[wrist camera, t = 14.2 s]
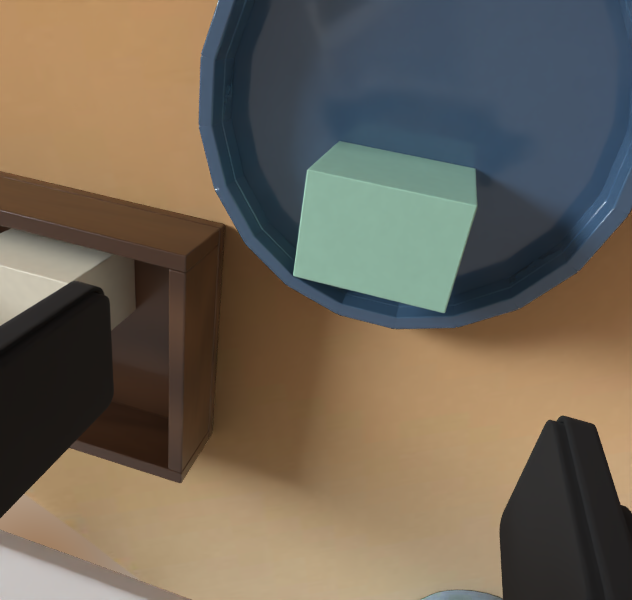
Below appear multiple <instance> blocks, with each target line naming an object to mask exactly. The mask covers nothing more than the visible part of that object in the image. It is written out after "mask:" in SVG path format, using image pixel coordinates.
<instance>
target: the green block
mask: <svg viewBox="0 0 632 600" xmlns="http://www.w3.org/2000/svg"><path fill="white" fill-rule="evenodd" d="M476 210H477V186H476V169H475V168H470V167H465V166H460V165H455V164H450V163H446V162H441V161H436V160H431V159H426V158H421V157H416V156H411V155H406V154H401V153H396V152H391V151H387V150H382V149H377V148H372V147H367V146H362V145H357V144H352V143H347V142H342V141H339V142H338V143H337V144H335V145H334V146H333V147H332V148H331V149H330V150H329V151H328V152H327V153H325V154H324V155H323V156H322V157H321V158H320V159H319V160H318V161H316V162H315V163H314V164H313V165H312V166H311V167H310V168H309V169H308V170H307V175H306V182H305V190H304V197H303V205H302V212H301V220H300V227H299V234H298V242H297V249H296V257H295V264H294V272H293V276H295V277H299V278H303V279H307V280H311V281H315V282H319V283H323V284H327V285H331V286H335V287H339V288H343V289H348V290H352V291H356V292H360V293H364V294H368V295H372V296H376V297H380V298H384V299H388V300H392V301H396V302H400V303H404V304H408V305H412V306H416V307H420V308H424V309H429V310H433V311H437V312H441V313H445V312H446V308H447V305H448V302H449V299H450V295H451V292H452V289H453V286H454V282H455V279H456V276H457V272H458V269H459V266H460V263H461V259H462V256H463V253H464V250H465V246H466V243H467V240H468V236H469V233H470V230H471V227H472V223H473V220H474V217H475V214H476Z"/></svg>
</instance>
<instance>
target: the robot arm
mask: <svg viewBox="0 0 632 600" xmlns="http://www.w3.org/2000/svg"><path fill="white" fill-rule="evenodd" d="M113 395H114V383H113V361H112V339H111V317H110V301H109V298H108V297H107V296H105V295H104V291H103V290H102V288H100V287H98V286H94V285H90V284H87V283H83V282H80V281H72V282H70V283H68V284H67V285H65V286H64V287H62V288H60V289H59V290H57V291H56V292H54V293H52V294H51V295H49V296H48V297H46V298H44V299H43V300H41V301H39V302H38V303H36V304H35V305H33V306H31V307H30V308H28V309H27V310H25V311H23V312H22V313H20V314H18V315H17V316H15V317H14V318H12V319H10V320H9V321H7V322H6V323H4V324H2V325H1V326H0V518H1V517H2V516H3V515H4V514H5V513H6V512H7V511H8V510H9V509H10V508H11V507H12V506H13V504H15V502H17V500H18V499H19V498H20V497H21V496H22V495H23V494H24V493H25V492H26V491H27V490H28V489H29V488H30V487H31V486H32V485H33V484H34V483H35V482H36V481H37V480H38V479H39V478H40V477H41V476H42V475H43V474H44V473H45V472H46V471H47V470H48V469H49V468H50V467H51V466H52V465H53V463H54V462H55V461H56V460H57V459H58V458H59V457H60V456H61V455H62V454H63V453H64V452H65V451H66V450H67V449H68V448H69V447H70V446H71V445H72V444H73V443H74V442H75V441H76V440H77V439H78V438H79V437H80V436H81V435H82V434H83V433H84V432H85V431H86V430H87V429H88V428H89V426H90V425H91V424H92V423H93V422H94V421H95V420H96V419H97V418H98V417H99V416H100V415H101V414H102V413H103V412H104V411H105V410H106V409H107V408H108V407H109V405H110V403H111V401H112V399H113ZM500 550H501V569H502V587H503V600H632V513H631V511H630V510H629V509H628V508H627V507H626V506H622V505H620V502H619V499H618V495H617V492H616V489H615V486H614V483H613V479H612V476H611V473H610V470H609V467H608V463H607V460H606V457H605V454H604V451H603V448H602V444H601V441H600V438H599V435H598V432H597V429H596V427H595V425H594V424H592V423H588V422H584V421H581V420H577V419H574V418H570V417H566V416H560V417H559V418H558V420H557V421H552V420H548V421H547V422H546V424H545V426H544V428H543V430H542V432H541V434H540V436H539V438H538V440H537V443H536V445H535V447H534V449H533V451H532V453H531V455H530V457H529V459H528V461H527V464H526V466H525V468H524V470H523V472H522V474H521V476H520V478H519V480H518V483H517V485H516V487H515V489H514V491H513V493H512V495H511V497H510V499H509V501H508V504H507V506H506V508H505V510H504V512H503V515H502V518H501V522H500ZM0 600H191V599H188V598H185V597H183V596H180V595H177V594H175V593H172V592H169V591H167V590H164V589H161V588H158V587H156V586H153V585H150V584H148V583H145V582H142V581H139V580H137V579H134V578H131V577H128V576H126V575H123V574H120V573H118V572H115V571H112V570H109V569H107V568H104V567H101V566H98V565H96V564H93V563H91V562H88V561H85V560H82V559H80V558H77V557H74V556H71V555H69V554H66V553H63V552H60V551H58V550H55V549H52V548H49V547H46V546H44V545H41V544H38V543H35V542H33V541H30V540H27V539H24V538H22V537H19V536H16V535H13V534H11V533H8V532H5V531H2V530H0Z"/></svg>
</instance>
